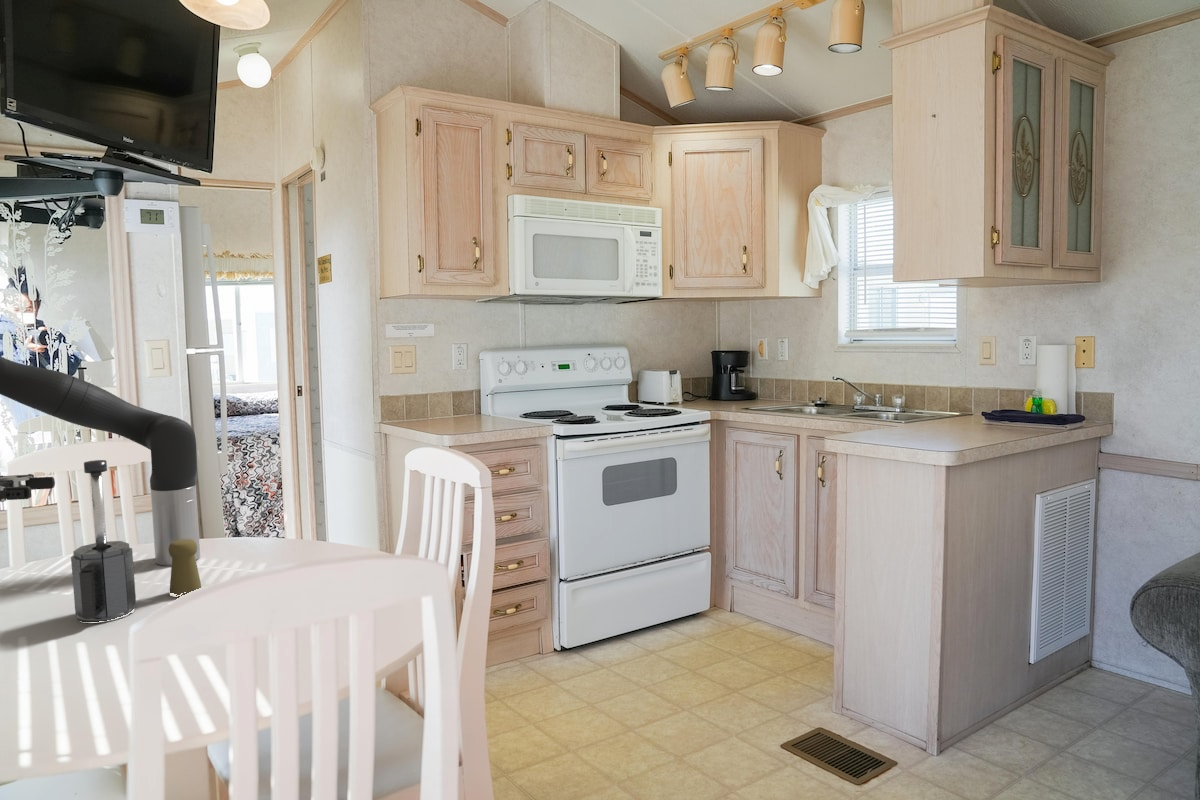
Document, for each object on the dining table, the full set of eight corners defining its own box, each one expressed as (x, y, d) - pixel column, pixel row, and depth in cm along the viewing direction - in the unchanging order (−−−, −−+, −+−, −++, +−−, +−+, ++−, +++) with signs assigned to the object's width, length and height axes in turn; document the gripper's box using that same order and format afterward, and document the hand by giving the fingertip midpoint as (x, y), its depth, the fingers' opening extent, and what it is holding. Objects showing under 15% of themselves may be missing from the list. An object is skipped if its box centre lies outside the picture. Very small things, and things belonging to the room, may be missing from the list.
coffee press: (90, 607, 159) (85, 541, 158) (142, 603, 161) (138, 539, 160) (60, 631, 147) (55, 560, 146) (117, 627, 149) (112, 557, 148)
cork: (188, 598, 164) (185, 545, 162) (162, 596, 165) (158, 543, 164) (208, 588, 170) (205, 536, 168) (183, 586, 171) (179, 535, 170)
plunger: (92, 567, 157) (84, 459, 155) (128, 565, 158) (120, 458, 156) (77, 577, 151) (68, 465, 149) (114, 575, 152) (106, 464, 150)
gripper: (-84, 479, 141) (20, 475, 144) (-35, 463, 155) (59, 460, 158) (-79, 521, 142) (24, 516, 145) (-31, 502, 156) (62, 498, 159)
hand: (42, 487), depth 151 cm, fingers open, 8 cm apart
